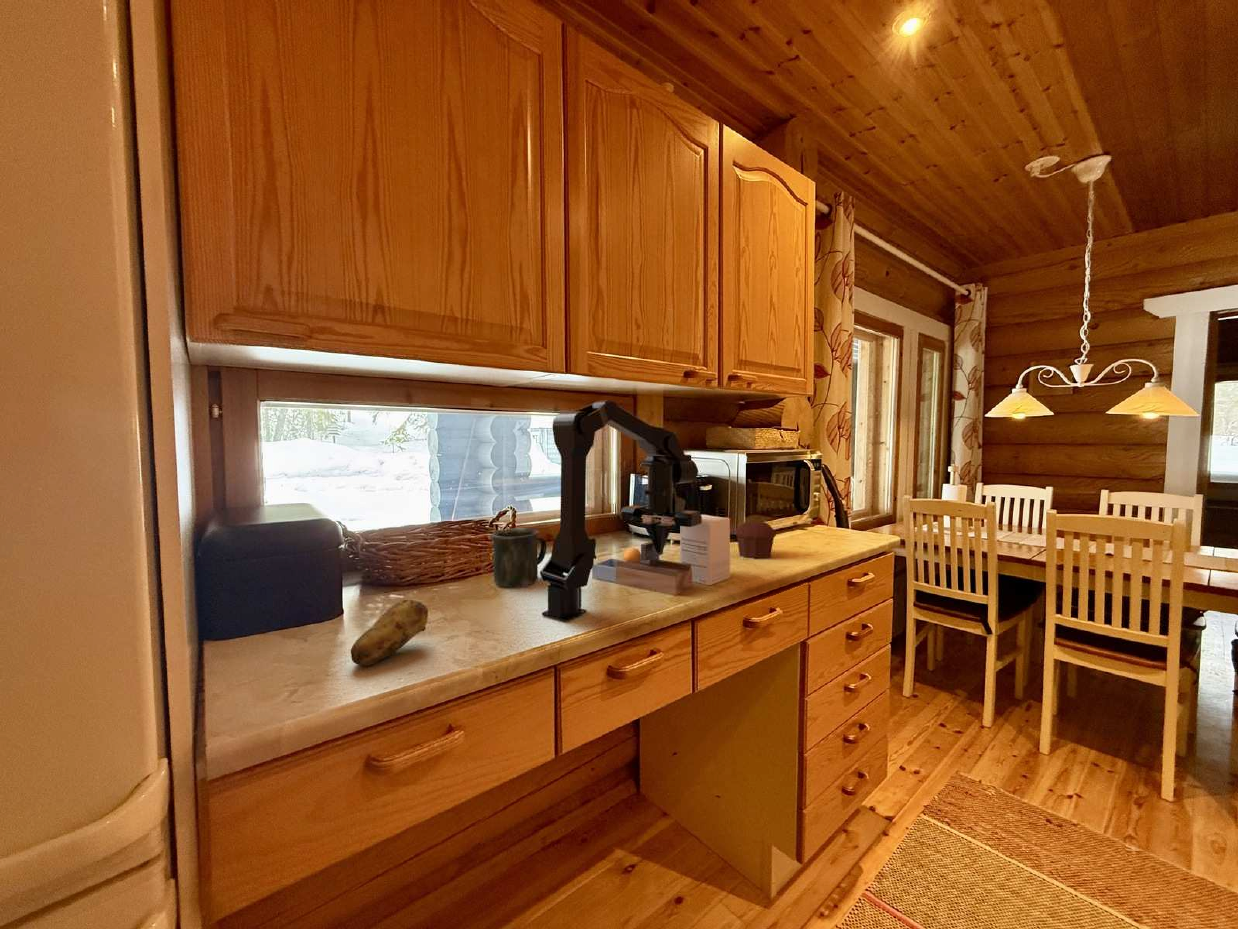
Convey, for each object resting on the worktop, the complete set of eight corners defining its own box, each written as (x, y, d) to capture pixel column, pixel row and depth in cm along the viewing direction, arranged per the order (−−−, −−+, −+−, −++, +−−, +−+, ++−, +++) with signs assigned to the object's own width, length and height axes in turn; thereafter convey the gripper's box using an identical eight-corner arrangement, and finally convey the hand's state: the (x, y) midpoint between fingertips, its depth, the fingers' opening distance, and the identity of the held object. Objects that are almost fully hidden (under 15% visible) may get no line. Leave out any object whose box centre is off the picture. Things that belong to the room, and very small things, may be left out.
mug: (482, 582, 125) (481, 532, 124) (531, 570, 135) (531, 524, 135) (510, 592, 117) (509, 539, 117) (559, 578, 128) (559, 530, 127)
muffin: (726, 554, 153) (727, 520, 152) (749, 549, 160) (750, 516, 159) (761, 562, 144) (761, 526, 143) (783, 556, 151) (784, 521, 150)
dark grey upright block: (645, 571, 119) (645, 545, 119) (636, 569, 120) (636, 543, 120) (663, 563, 125) (663, 539, 125) (654, 562, 127) (654, 538, 127)
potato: (338, 659, 83) (337, 609, 82) (418, 636, 92) (417, 591, 91) (357, 676, 77) (355, 623, 77) (440, 650, 86) (439, 602, 86)
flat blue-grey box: (618, 583, 124) (618, 569, 123) (592, 578, 128) (592, 564, 128) (635, 576, 130) (635, 562, 130) (610, 571, 134) (610, 558, 134)
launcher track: (675, 595, 115) (675, 572, 114) (615, 583, 124) (615, 561, 124) (691, 586, 121) (692, 564, 121) (634, 575, 130) (634, 555, 130)
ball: (618, 555, 126) (627, 569, 124) (628, 546, 124) (638, 560, 122) (627, 552, 129) (636, 566, 127) (637, 543, 127) (647, 557, 126)
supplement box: (700, 571, 134) (700, 513, 133) (730, 578, 128) (731, 517, 127) (678, 578, 128) (679, 518, 127) (709, 586, 122) (710, 522, 121)
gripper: (712, 484, 121) (712, 551, 122) (644, 480, 132) (644, 541, 133) (690, 489, 112) (689, 561, 113) (619, 484, 123) (619, 549, 124)
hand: (659, 552), depth 121 cm, fingers closed
